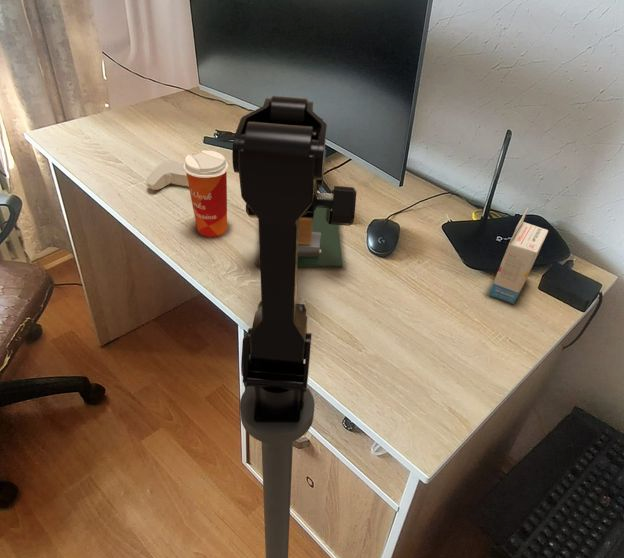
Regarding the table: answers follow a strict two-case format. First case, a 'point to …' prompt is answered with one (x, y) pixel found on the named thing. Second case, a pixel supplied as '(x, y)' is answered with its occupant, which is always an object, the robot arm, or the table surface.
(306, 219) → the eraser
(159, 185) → the game controller
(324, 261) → the chalkboard
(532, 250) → the ink box
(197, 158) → the coffee cup
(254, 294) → the table surface
